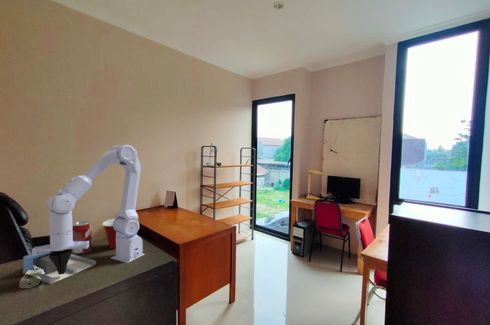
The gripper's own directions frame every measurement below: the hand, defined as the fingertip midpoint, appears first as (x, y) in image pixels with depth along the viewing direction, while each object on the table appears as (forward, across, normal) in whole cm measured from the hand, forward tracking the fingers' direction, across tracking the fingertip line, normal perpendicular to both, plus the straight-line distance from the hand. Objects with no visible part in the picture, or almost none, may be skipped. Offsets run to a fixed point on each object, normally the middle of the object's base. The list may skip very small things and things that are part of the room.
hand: (62, 272), depth 74 cm
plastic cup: (+2, -13, -22) cm, 26 cm away
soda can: (+2, 0, -22) cm, 22 cm away
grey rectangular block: (+1, +7, -9) cm, 11 cm away
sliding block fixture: (+2, +2, -7) cm, 8 cm away
